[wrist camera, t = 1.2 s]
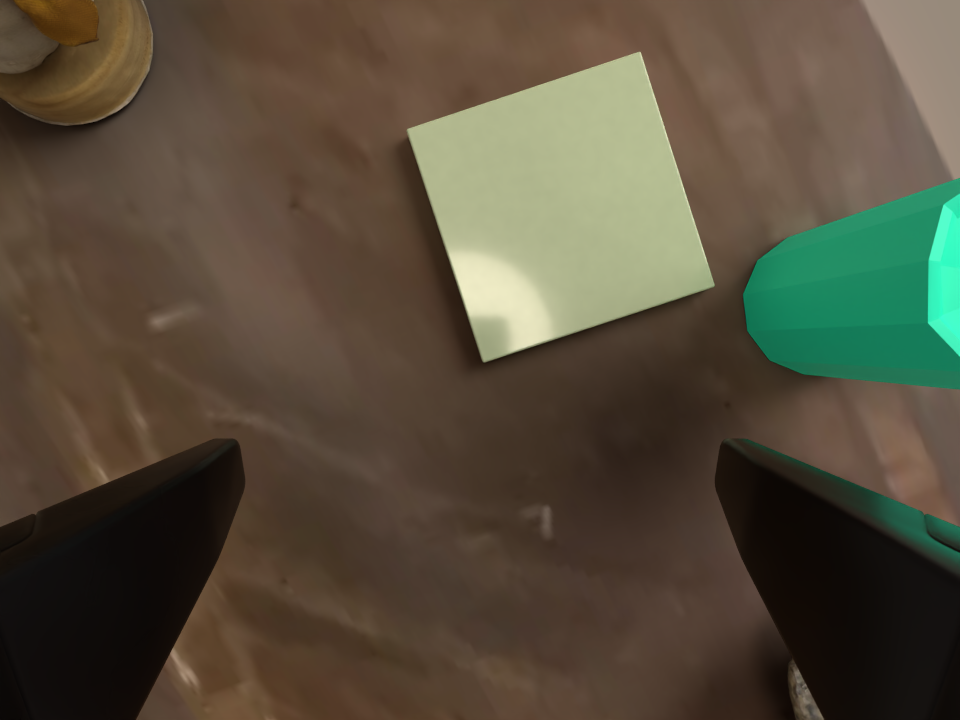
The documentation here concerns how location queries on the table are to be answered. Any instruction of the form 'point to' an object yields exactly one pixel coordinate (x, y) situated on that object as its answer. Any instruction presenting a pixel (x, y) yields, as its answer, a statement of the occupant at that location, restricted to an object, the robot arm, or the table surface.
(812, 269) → the candle
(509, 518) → the table surface
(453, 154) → the tile
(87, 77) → the figurine
